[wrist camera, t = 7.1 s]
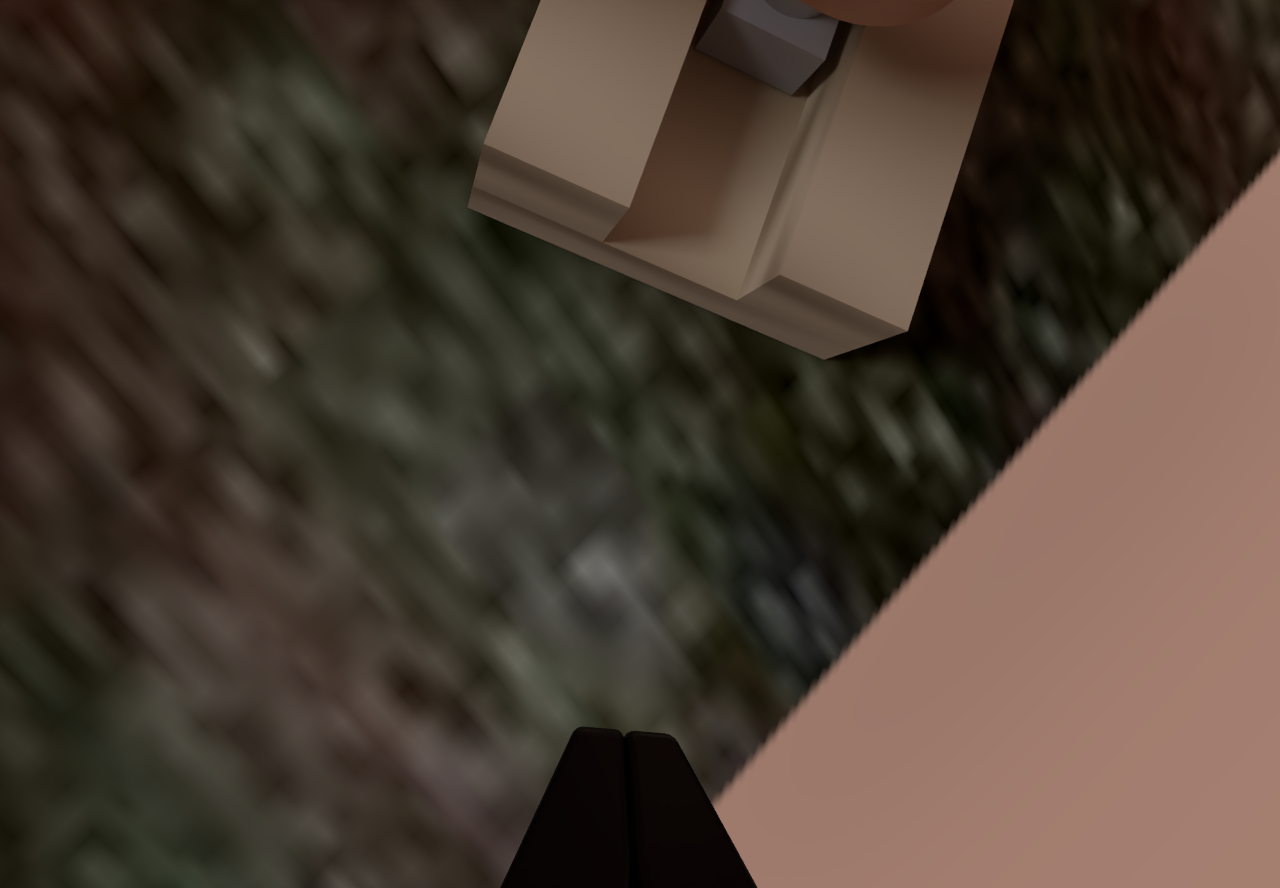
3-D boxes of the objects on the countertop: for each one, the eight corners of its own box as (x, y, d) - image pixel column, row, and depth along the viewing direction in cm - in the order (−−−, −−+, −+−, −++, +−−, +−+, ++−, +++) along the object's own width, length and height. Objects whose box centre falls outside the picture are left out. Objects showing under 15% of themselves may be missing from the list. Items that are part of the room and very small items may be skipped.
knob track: (823, 359, 24) (907, 330, 20) (467, 207, 22) (483, 143, 18) (933, 30, 25) (1032, -56, 21) (605, -139, 23) (647, -268, 19)
